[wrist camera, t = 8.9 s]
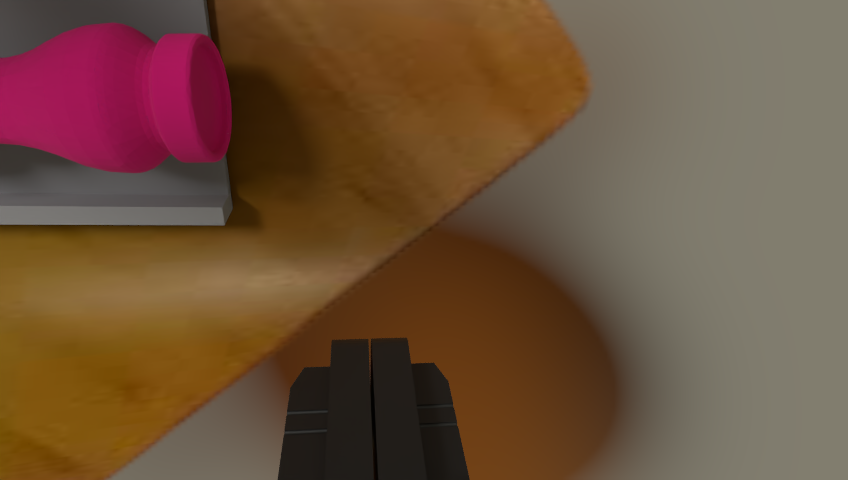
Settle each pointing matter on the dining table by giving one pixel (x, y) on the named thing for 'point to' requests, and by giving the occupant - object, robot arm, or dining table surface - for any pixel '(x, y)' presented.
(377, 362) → the robot arm
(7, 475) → the dining table surface
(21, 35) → the gray open-ended tray
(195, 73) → the pepper mill
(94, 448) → the dining table surface
